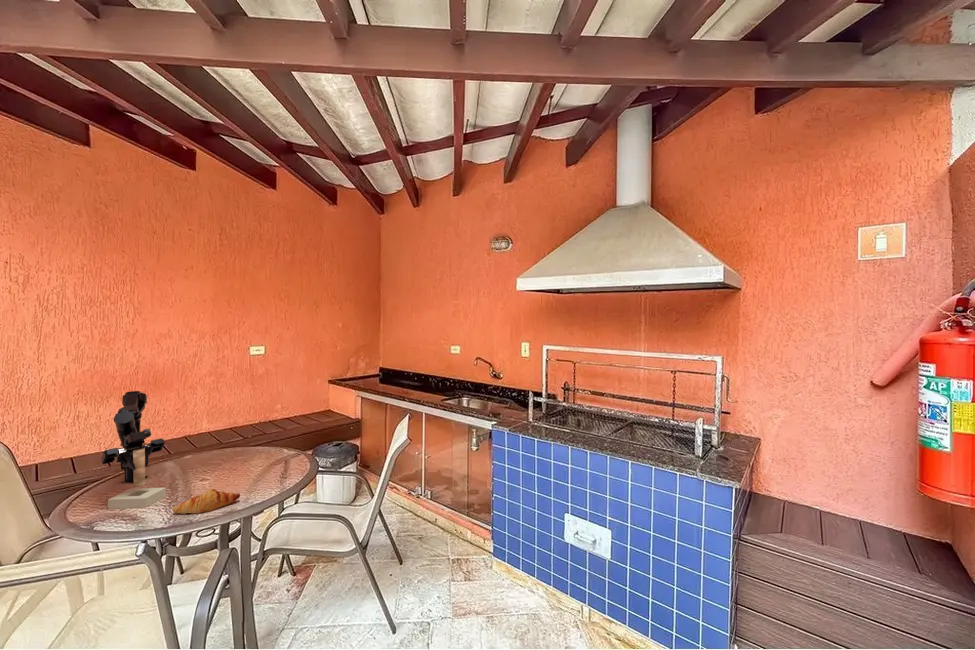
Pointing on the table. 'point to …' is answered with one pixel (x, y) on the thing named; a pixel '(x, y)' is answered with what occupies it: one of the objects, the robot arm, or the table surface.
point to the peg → (139, 467)
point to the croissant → (206, 502)
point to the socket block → (137, 498)
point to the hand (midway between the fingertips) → (140, 467)
